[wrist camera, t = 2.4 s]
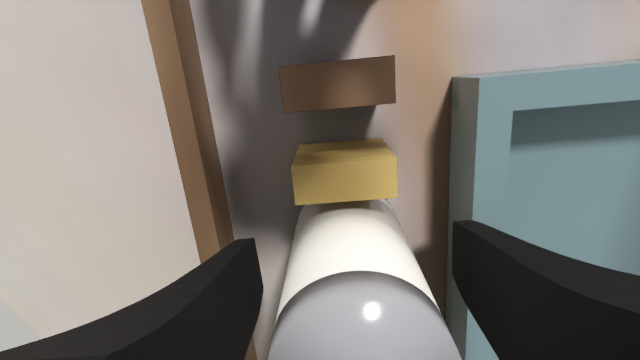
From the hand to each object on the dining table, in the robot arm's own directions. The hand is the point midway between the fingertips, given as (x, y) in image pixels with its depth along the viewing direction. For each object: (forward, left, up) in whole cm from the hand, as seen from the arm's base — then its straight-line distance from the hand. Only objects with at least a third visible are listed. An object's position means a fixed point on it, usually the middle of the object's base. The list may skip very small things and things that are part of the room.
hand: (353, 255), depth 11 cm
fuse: (0, 0, -2) cm, 2 cm away
